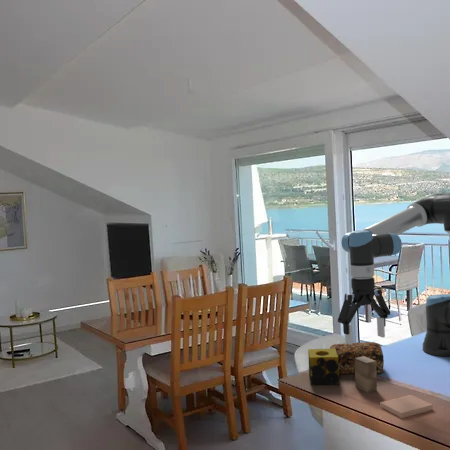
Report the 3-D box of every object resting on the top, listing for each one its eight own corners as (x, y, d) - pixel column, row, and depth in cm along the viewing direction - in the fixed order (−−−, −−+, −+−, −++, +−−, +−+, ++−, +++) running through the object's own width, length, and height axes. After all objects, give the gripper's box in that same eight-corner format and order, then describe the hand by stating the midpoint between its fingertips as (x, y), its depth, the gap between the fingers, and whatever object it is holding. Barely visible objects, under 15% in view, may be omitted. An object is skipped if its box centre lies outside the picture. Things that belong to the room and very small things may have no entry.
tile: (410, 394, 160) (432, 404, 152) (410, 400, 160) (432, 411, 152) (380, 402, 155) (401, 413, 147) (380, 408, 155) (401, 419, 147)
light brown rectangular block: (364, 384, 174) (364, 356, 173) (376, 390, 168) (376, 360, 168) (355, 387, 172) (354, 358, 172) (367, 392, 167) (366, 362, 166)
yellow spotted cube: (336, 375, 184) (336, 348, 184) (340, 385, 174) (339, 356, 174) (308, 375, 185) (307, 348, 185) (310, 385, 175) (309, 357, 175)
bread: (380, 365, 193) (379, 339, 192) (384, 375, 182) (383, 348, 182) (330, 365, 196) (329, 339, 195) (331, 374, 185) (331, 348, 185)
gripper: (339, 283, 160) (342, 349, 161) (399, 274, 170) (402, 336, 171) (324, 280, 166) (328, 343, 168) (383, 271, 177) (386, 331, 178)
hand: (365, 340), depth 169 cm, fingers open, 13 cm apart
